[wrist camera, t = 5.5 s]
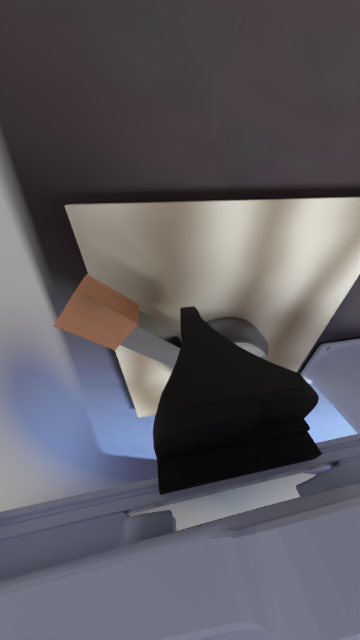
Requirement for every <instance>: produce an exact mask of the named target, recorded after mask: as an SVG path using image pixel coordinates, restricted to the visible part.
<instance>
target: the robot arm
mask: <svg viewBox="0 0 360 640" xmlns="http://www.w3.org/2000/svg"><path fill="white" fill-rule="evenodd" d="M180 328H181V338H182V344H181V348H180V351H179V355H178V358H177V361H176V363H175V366H174V368H173V371H172V373H171V375H170V378H169V380H168V382H167V384H166V386H165V388H164V390H163V392H162V394H161V397H160V401H159V404H158V408H157V412H156V416H155V420H154V427H153V440H154V450H155V454H156V457H157V464H158V478H154V479H150V480H145V481H140V482H136V483H131V484H127V485H122V486H118V487H113V488H108V489H104V490H100V491H94V492H90V493H85V494H81V495H76V496H72V497H67V498H62V499H58V500H54V501H49V502H44V503H40V504H35V505H30V506H26V507H21V508H17V509H12V510H8V511H3V512H0V640H360V338H359V339H352V340H346V341H339V342H332V343H326V344H322V345H320V346H319V347H318V348H317V350H316V351H315V353H314V354H313V356H312V357H311V359H310V360H309V362H308V363H307V365H306V366H305V368H304V369H303V371H302V372H301V374H300V373H297V372H295V371H292V370H289V369H287V368H284V367H281V366H279V365H276V364H274V363H272V362H269V361H267V360H265V359H263V358H260V357H258V356H256V355H254V354H252V353H250V352H249V351H247V350H245V349H243V348H241V347H239V346H238V345H236V344H234V343H233V342H231V341H230V340H228V339H227V338H225V337H224V336H222V335H221V334H220V333H218V332H217V331H216V330H215V329H213V328H212V327H211V326H210V325H209V324H208V323H206V322H205V321H204V320H203V319H202V318H201V317H200V314H199V312H198V310H197V309H196V308H195V307H194V306H192V307H182V308H180ZM309 383H313V384H314V385H315V386H316V387H317V388H318V389H319V390H320V391H321V393H322V394H323V395H324V396H325V397H326V398H327V399H328V400H329V402H330V403H331V404H332V405H333V406H334V407H335V408H336V409H337V411H338V412H339V413H340V414H341V415H342V416H343V417H344V418H345V420H346V421H347V422H348V423H349V424H350V425H351V426H352V427H353V429H354V430H355V431H356V432H357V433H358V434H356V435H351V436H347V437H342V438H337V439H333V440H328V441H324V442H319V443H315V442H314V441H313V439H312V438H311V436H310V435H309V433H308V432H307V431H308V430H310V428H309V426H308V424H307V423H306V421H305V420H304V418H305V417H306V416H307V415H308V414H309V413H310V412H311V411H312V410H313V408H314V407H315V406H316V405H317V403H318V398H319V397H318V395H317V393H316V392H315V391H314V390H313V388H312V387H311V386H310V385H309ZM328 466H331V468H330V469H329V470H326V471H323V472H320V473H318V474H317V475H316V476H314V477H313V478H311V479H309V480H307V481H305V482H303V483H301V484H298V485H297V486H296V489H297V491H298V493H299V495H300V497H299V498H295V499H291V500H288V501H283V502H279V503H276V504H272V505H269V506H265V507H261V508H257V509H254V510H250V511H246V512H243V513H239V514H236V515H232V516H228V517H225V518H222V519H218V520H214V521H211V522H207V523H204V524H200V525H197V526H193V527H190V528H186V529H183V530H179V531H176V520H175V518H174V517H173V516H172V512H171V511H170V510H166V511H159V512H152V513H145V514H140V515H135V516H131V517H130V516H129V515H128V514H132V513H136V512H140V511H144V510H148V509H153V508H156V507H160V506H165V505H169V504H174V503H178V502H182V501H186V500H190V499H194V498H198V497H203V496H207V495H211V494H215V493H219V492H223V491H228V490H232V489H236V488H240V487H244V486H249V485H253V484H257V483H261V482H265V481H269V480H273V479H278V478H282V477H286V476H290V475H294V474H298V473H303V472H307V471H311V470H315V469H320V468H324V467H328Z"/></svg>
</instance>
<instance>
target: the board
mask: <svg viewBox="0 0 360 640" xmlns="http://www.w3.org/2000/svg"><path fill="white" fill-rule="evenodd" d="M64 206H65V209H66V212H67V215H68V218H69V220H70V223H71V226H72V229H73V232H74V235H75V238H76V240H77V243H78V246H79V249H80V252H81V255H82V258H83V260H84V263H85V266H86V269H87V272H88V275H89V276H91V277H93V278H95V279H96V280H98V281H100V282H101V283H103V284H105V285H106V286H108V287H110V288H111V289H113V290H115V291H117V292H118V293H120V294H122V295H123V296H125V297H127V298H128V299H130V300H132V301H133V302H135V303H137V304H139V310H140V311H142V312H143V313H145V314H147V315H149V316H150V317H152V318H154V319H156V320H157V321H159V322H161V323H163V324H164V325H166V326H168V327H170V328H171V329H173V330H175V331H177V332H178V333H180V334H181V328H180V308H182V307H192V306H194V307H195V308H196V309H197V310H198V312H199V314H200V317H201V318H202V319H203V320H204V321H205V322H206V323H208V324H209V325H210V326H211V327H212V328H213V329H215V330H216V331H217V332H218V333H220V334H221V335H222V336H224V337H225V338H227V339H234V338H242V339H248V340H251V341H254V342H255V343H257V344H258V345H259V346H260V347H261V349H262V350H263V351H264V353H265V354H266V355H267V357H268V359H269V362H272V363H274V364H276V365H279V366H281V367H284V368H287V369H289V370H292V371H295V372H297V371H298V369H299V368H300V366H301V365H302V363H303V362H304V360H305V358H306V357H307V355H308V354H309V352H310V351H311V349H312V348H313V346H314V344H315V343H316V341H317V340H318V338H319V337H320V335H321V333H322V332H323V330H324V329H325V327H326V326H327V324H328V323H329V321H330V319H331V318H332V316H333V315H334V313H335V312H336V310H337V309H338V307H339V305H340V304H341V302H342V301H343V299H344V298H345V296H346V294H347V293H348V291H349V290H350V288H351V287H352V285H353V284H354V282H355V280H356V279H357V277H358V276H359V274H360V197H328V198H289V199H250V200H211V201H173V202H134V203H95V204H69V205H64ZM115 352H116V355H117V358H118V360H119V363H120V366H121V369H122V372H123V375H124V378H125V381H126V383H127V386H128V389H129V392H130V395H131V398H132V401H133V403H134V406H135V409H136V412H137V415H138V418H140V417H145V416H151V415H156V412H157V408H158V404H159V401H160V397H161V394H162V392H163V390H164V388H165V386H166V384H167V382H168V380H169V378H170V375H171V373H172V371H173V367H170V366H168V365H166V364H163V363H161V362H158V361H156V360H154V359H151V358H149V357H147V356H144V355H142V354H140V353H137V352H135V351H133V350H130V349H128V348H125V347H123V346H121V345H119V347H118V348H117V349H116V350H115Z"/></svg>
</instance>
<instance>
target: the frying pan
mask: <svg viewBox="0 0 360 640" xmlns="http://www.w3.org/2000/svg"><path fill="white" fill-rule="evenodd" d="M54 326H55V327H58V328H60V329H63V330H65V331H68V332H70V333H73V334H75V335H78V336H80V337H83V338H85V339H88V340H90V341H92V342H95V343H97V344H100V345H102V346H105V347H107V348H110V349H112V350H116V349H117V348H118V347H119V345H121V346H123V347H125V348H128V349H130V350H133V351H135V352H137V353H140V354H142V355H144V356H147V357H149V358H151V359H154V360H156V361H158V362H161V363H163V364H166V365H168V366H170V367H173V368H174V366H175V363H176V361H177V358H178V355H179V351H180V348H181V344H182V338H181V334H180V333H178V332H177V331H175V330H173V329H171V328H170V327H168V326H166V325H164V324H163V323H161V322H159V321H157V320H156V319H154V318H152V317H150V316H149V315H147V314H145V313H143V312H142V311H140V310H139V304H137V303H135V302H133V301H132V300H130V299H128V298H127V297H125V296H123V295H122V294H120V293H118V292H117V291H115V290H113V289H111V288H110V287H108V286H106V285H105V284H103V283H101V282H100V281H98V280H96V279H95V278H93V277H91V276H89V275H88V274H86V276H85V277H84V278H83V280H82V281H81V283H80V284H79V286H78V287H77V289H76V290H75V292H74V293H73V295H72V297H71V298H70V300H69V302H68V303H67V305H66V307H65V308H64V310H63V311H62V313H61V315H60V316H59V318H58V320H57V321H56V323H55V325H54ZM228 340H230V341H231V342H233V343H234V344H236V345H238V346H239V347H241V348H243V349H245V350H247V351H249V352H250V353H252V354H254V355H256V356H258V357H260V358H263V359H265V360H267V361H269V359H268V357H267V355H266V354H265V353H264V351H263V350H262V349H261V347H260V346H259V345H258V344H257V343H255V342H254V341H251V340H248V339H242V338H234V339H228Z"/></svg>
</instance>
